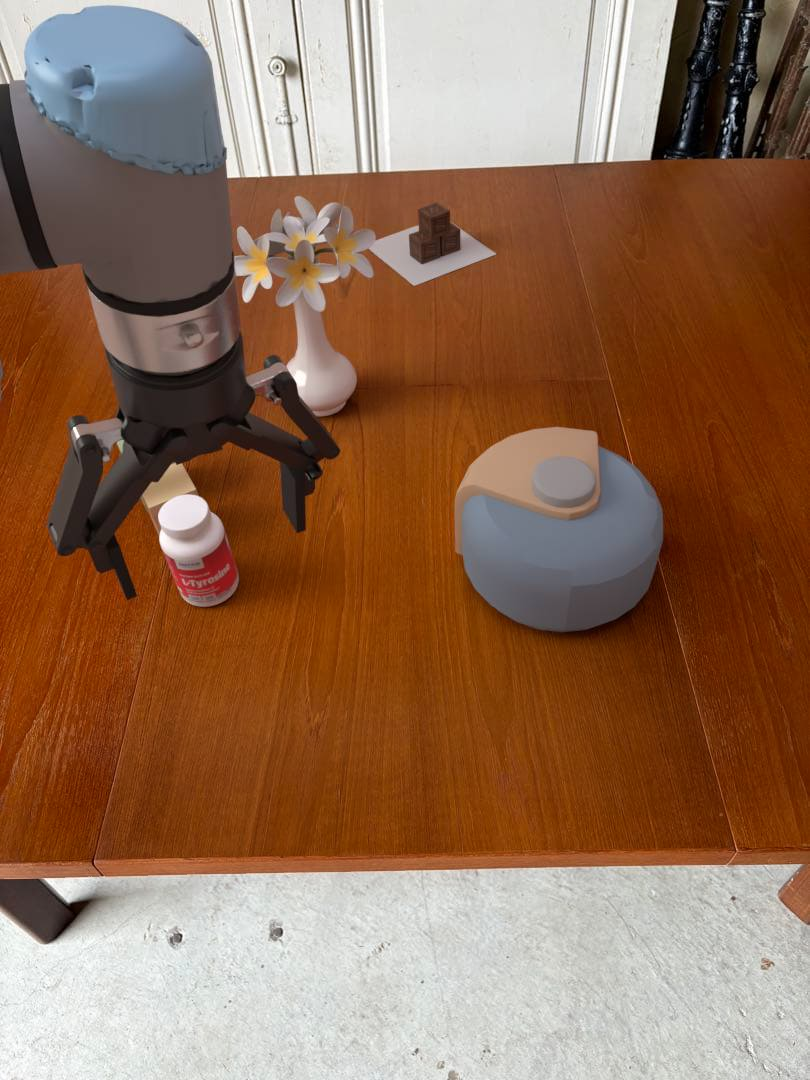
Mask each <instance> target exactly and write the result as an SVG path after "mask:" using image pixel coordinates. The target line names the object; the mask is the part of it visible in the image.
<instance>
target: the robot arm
mask: <svg viewBox="0 0 810 1080" xmlns="http://www.w3.org/2000/svg"><path fill="white" fill-rule="evenodd" d="M23 58H24V64H25V71H24V79H13V80H9V83H0V275H9V274H16V273H25V272H35V271H41V270H42V271H43V270H50V269H57V268H58V266H72V265H77V264H78V265H79V264H80V265H81V270H82V275H83V278H84V281H85V284H86V287H87V290H88V295H89V298H90V302H91V306H92V309H93V313H94V317H95V321H96V325H97V329H98V332H99V336H100V340H101V342H102V343H103V345H104V352H105V357H106V361H107V364H108V368H109V372H110V375H111V379H112V382H113V387H114V389H115V392H116V393H115V394H116V397H117V401H118V407H117V411H116V413H115V417H114V418H108V419H105V420H104V419H103V420H100V421H96V422H95V421H94V422H91V423H90V422H89V420H88V417H87V416H86V415H82V414H77V415H73V416H71V417H70V418H69V419H68V421H67V423H66V427H67V433H68V438H69V443H70V446H69V449H68V452H67V456H66V459H65V463H64V467H63V468H62V472H61V476H60V479H59V482H58V485H57V489H56V492H55V496H54V498H53V502H52V504H51V508H50V511H49V515H48V517H47V521H46V528H47V530H48V533H49V535H50V538H51V541H52V543H53V546H54V548H55V550H56V553H57V554H58V556H61V557H69V556H71V555H73V554H74V553H75V552H76V551H77V549H84V550H86V551H88V553H89V556H90V559H91V561H92V562H93V565H94V567H95V570H96V572H98V573H99V574H100V575H101V574H104V573H106V572H109V571H111V570H112V571H114V573H115V575H116V578H117V580H118V582H119V585H120V587H121V590H122V592H123V594H124V597H125V599H126V601H130V600H131V599H134V598H137V597H138V595H137V592H136V588H135V585H134V583H133V581H132V578H131V575H130V572H129V569H128V566H127V563H126V560H125V557H124V554H123V552H122V548H121V546H120V544H119V541H118V539H117V537H116V533H117V532H118V529H119V528H120V527H121V526H122V524H123V523H124V521H125V520H126V518H127V517H128V516H129V514H130V513H131V512H132V510H133V508H134V507H135V506H136V504H137V503H138V501H139V500H141V498H140V497H141V496H142V495H143V493H144V492H145V490H146V489H147V488H148V486H149V485H150V483H151V482H158V481H159V480H160V479H161V478H162V476H163V475H164V473H165V472H166V471H167V469H168V468H169V466H170V465H171V464H172V462H175V463H176V465H178V464H181V463H182V464H184V463H187V462H189V461H192V460H193V459H194V458H197V457H198V456H202V455H208V454H214V453H216V452H219V451H222V450H223V446H225V445H226V444H227V443H230V444H232V445H234V446H237V447H239V448H241V449H243V450H245V451H250V450H251V449H252V450H254V451H256V452H258V453H259V454H263V455H265V456H267V457H269V458H271V459H273V460H275V461H277V462H279V470H280V471H279V472H280V487H281V488H280V489H281V503H282V504H281V505H282V511H283V512H284V515H285V516H286V517H287V519H288V521H289V522H290V524H291V526H292V528H293V529H294V531H295V532H296V534H299V533H303V532H304V531H307V520H306V519H307V518H306V514H307V513H306V497H307V496H310V495H312V494H314V493H315V490H316V481H317V480H319V479H320V478H321V477H322V476H323V474H324V472H323V469H322V467H321V466H320V464H319V463H320V462H321V461H322V460H324V459H326V460H334V459H336V458H338V457H339V455H340V453H341V448H340V447H339V445H338V444H337V442H336V441H335V440H334V438H333V437H332V435H331V433H330V432H329V431H328V428H326V426H325V425H324V423H323V422H322V421H321V420H320V419H319V417H317V416H316V415H315V414H314V413H313V412H312V410H311V409H310V408H309V407H308V406H307V404H306V403H305V402H304V401H303V400H302V398H301V397H300V396H299V395H298V389H297V384H296V381H295V380H294V378H293V377H292V375H291V373H290V372H289V370H288V369H287V367H286V365H285V363H284V362H283V360H282V359H281V357H280V356H279V355H277V354H272V355H271V354H270V355H269V356H267V357H266V358H265V359H264V361H263V365H262V366H263V369H262V370H260V371H257V372H255V373H252V374H249V375H247V370H246V361H245V360H246V359H245V350H244V339H243V335H242V331H241V327H242V324H241V323H242V322H241V315H240V304H239V294H238V284H237V276H236V271H235V266H234V257H235V255H234V254H235V251H234V243H233V229H232V218H231V217H232V216H231V206H230V194H229V181H228V169H227V159H228V150H227V149H228V148H227V146H226V145H225V140H224V136H223V129H222V123H221V117H220V111H219V103H218V96H217V90H216V83H215V76H214V70H213V69H214V68H213V63H212V59H211V57H210V54H209V52H208V51H207V50H206V48H205V46H204V45H203V43H202V42H201V40H199V38H198V37H197V36H196V35H195V34H193V32H192V31H191V30H189V28H187V27H186V26H185V25H183V24H182V23H180V22H179V21H177V20H175V19H173V18H171V17H169V16H167V15H164V14H162V13H160V12H156V11H153V10H150V9H145V8H140V7H134V6H128V5H127V6H126V5H112V4H111V5H109V4H107V5H92V6H85V7H83V8H82V9H81V10H80V12H79V11H78V12H76V13H58V14H55V15H53V16H51V17H49V18H47V19H45V20H44V21H42V22H40V23H39V24H38V25H37V26H36V27H34V29H33V30H32V32H30V34H29V35H28V37H27V39H26V41H25V44H24V51H23ZM3 375H4V374H3V366H2V361H1V360H0V404H1V402H2V385H1V381H2V378H3ZM256 397H263V398H264V400H266V401H267V402H270V403H271V402H272V403H273V405H274V406H279V405H280V407H281V408H282V409H283V411H284V412H285V414H286V415H287V416H288V417H289V418H290V419H291V421H292V422H293V423H294V424H295V425H296V426H297V428H298V429H299V430H300V431H301V432H302V433H303V434H304V435H305V436H306V437H307V438H306V439H304V440H303V439H302V438H300V437H298V436H296V435H294V434H292V433H291V432H288V431H286V430H284V429H283V428H281V427H279V426H277V425H274V423H271V422H269V421H267V420H265V419H263V418H261V417H259V416H258V415H256V414H253V413H252V412H250V410H251V409H252V407H253V406H254V404H255V401H256ZM120 440H124V442H123V451H122V454H121V453H120V455H119V457H117V459H116V461H115V462H114V464H113V465H112V467H111V468H110V470H109V471H108V472H107V474H106V475H105V477H104V479H102V476H103V474H104V463H108V462H110V461H111V459H112V455H111V453H112V452H113V448H114V446H115V445H116V444H117V443H116V442H118V441H120ZM151 455H152V456H151ZM101 480H102V481H101Z"/></svg>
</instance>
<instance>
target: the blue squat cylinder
mask: <svg viewBox="0 0 810 1080" xmlns="http://www.w3.org/2000/svg"><path fill="white" fill-rule="evenodd" d="M663 511H664V510H663V507H662V504H661V503H660V500H659V498H658V495H657V493H656V490H655V488H654V487H653V486H652V484H651V483H650V482H649V480H648V479H647V478H646V477H645V476H644V474H643V473H642V472H641V471H640V469H639V468H637V466H635V465H633V464H632V463H631V462H630V461H628V460H627V459H626V458H625V457H623V456H622V455H620V454H617V453H615V452H613V451H611V450H609V449H606V448H605V447H602V446H600V445H599V437H598V433H597V432H596V431H595V430H589V429H588V430H587V429H578V428H570V427H562V426H552V427H543V428H542V427H541V428H533V429H529V430H526V431H522V432H518V433H515V434H512V435H509V436H507V437H505V438H504V439H502V440H500V441H498V442H496V443H494V444H492V445H491V446H489V447H488V448H487V449H486V450H485V451H483V453H481V454H480V455H479V456H478V457H477V458H476V459H475V460H474V461H473V462H472V463H471V464H470V465H469V466H468V468H467V470H466V472H465V474H464V476H463V478H462V480H461V482H460V485H459V487H458V489H457V490H456V494H455V497H454V552H455V553H456V554H458V555H461V556H462V559H463V565H464V571H465V573H466V575H467V577H468V578H469V579H468V580H470V583H471V584H472V586H473V588H474V590H475V591H476V592H477V593H478V594H479V595H480V596H481V597H482V598H483V599H484V600H485V601H486V602H487V603H488V604H489V605H490V606H491V607H492V608H494V609H496V610H497V611H498V612H499V613H500V614H502V615H504V616H506V617H508V618H509V619H511V620H512V621H514V622H516V623H519V624H522V625H524V626H527V627H529V628H532V629H535V630H538V631H539V630H540V631H548V632H557V633H566V632H578V631H579V632H580V631H586V630H589V629H592V628H595V627H599V626H601V625H604V624H607V623H609V622H611V621H615V620H616V619H618V618H620V617H622V616H623V615H624V614H626V613H627V612H629V611H630V610H632V609H633V608H635V607H636V606H637V604H638V603H639V602H640V601H641V599H642V598H643V597H644V596H645V594H647V592H648V591H649V588H650V585H651V582H652V580H653V576H654V574H655V570H656V567H657V563H658V560H659V557H660V553H661V550H662V545H663V541H664V514H663Z"/></svg>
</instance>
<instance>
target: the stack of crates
mask: <svg viewBox="0 0 810 1080" xmlns="http://www.w3.org/2000/svg"><path fill="white" fill-rule="evenodd" d="M417 220H418V225H415V226H412V227H409V228H406V229H404V230H400V231H398V232H395V233H392V234H390V235H387V236H384V237H381V238H378V239H375V242H374V244H373V245H372V246H371V247H370V248H368V249H367V250H369V251H370V252H371V253H373V254H374V255H375V256H376V257H378V258H379V259H380V260H381V261H383V263H385V264H386V265H388V266H389V267H390V268H391V269H392V270H393V271H395V272H396V273H397V274H399V275H400V276H401V277H402V278H403V279H404V280H406V281H407V282H408V283H409V284H410V285H412V286H413V287H415V286H418V285H421V284H423V283H426V282H428V281H429V282H430V281H431V280H433V279H437V278H439V277H442V276H444V275H446V274H450V273H451V272H454V271H457V270H459V269H463V268H465V267H467V266H470V265H473V264H475V263H478V262H481V261H484V260H485V259H489V258H491V257H493V256H497V253H496V252H494V250H492V249H490V248H488V247H487V246H486V245H484V244H483V243H482V242H480V241H479V240H477V239H476V238H474V237H473V236H472V235H471V234H469V233H468V232H467V231H465V230H463V229H462V228H460V227H459V226H457V225H456V224H454V223H453V222H452V221H451V210H450V209H448V208H446V206H444V205H442V204H440V203H438V201H437V202H433V203H431V204H429V205H425V206H423V207H420V208H418V209H417Z"/></svg>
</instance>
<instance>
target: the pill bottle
mask: <svg viewBox="0 0 810 1080" xmlns="http://www.w3.org/2000/svg"><path fill="white" fill-rule="evenodd" d="M158 519H159V522H160V525H161V528H162V529H161V532H160V536H159V535H158V538H159V539H158V540H159V545H160V548H161V550H162V553H163V555H164V558H165V561H166V562H167V565H168V568H169V570H170V572H171V575H172V577H173V580H174V582H175V585H176V587H177V589H178V592H179V594H180V596H181V598H182V599H183V600H184V601H185V602H187V603H188V604H190V605H192V606H195V607H201V608H208V607H209V608H210V607H213V606H217V605H219V604H222V603H223V602H225V601H227V600H228V599H229V598H230V597H232V596H233V595H234V593H235V592H236V590H237V588H238V585H239V581H240V576H239V572H238V568H237V564H236V561H235V558H234V555H233V552H232V549H231V546H230V543H229V539H228V535H227V533H226V529H225V527H224V525H223V522H222V520H221V518H220V517H219V516H218V515H217V514H215V513H214V512H212V511H211V509H210V507H209V504H208V502H207V501H206V500H205V499H204V498H203V497H202V496H200V495H199V496H196V495H190V494H189V495H180V496H177V497H175V498H172V499H171V500H169V501H168V502H166V503H165V504H164V505H163V506H162V508H161V509H160V511H159V514H158Z"/></svg>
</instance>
